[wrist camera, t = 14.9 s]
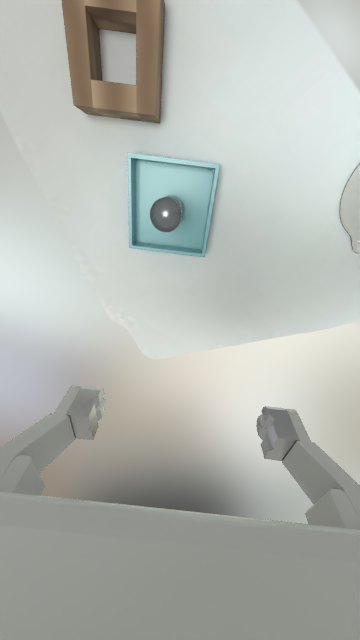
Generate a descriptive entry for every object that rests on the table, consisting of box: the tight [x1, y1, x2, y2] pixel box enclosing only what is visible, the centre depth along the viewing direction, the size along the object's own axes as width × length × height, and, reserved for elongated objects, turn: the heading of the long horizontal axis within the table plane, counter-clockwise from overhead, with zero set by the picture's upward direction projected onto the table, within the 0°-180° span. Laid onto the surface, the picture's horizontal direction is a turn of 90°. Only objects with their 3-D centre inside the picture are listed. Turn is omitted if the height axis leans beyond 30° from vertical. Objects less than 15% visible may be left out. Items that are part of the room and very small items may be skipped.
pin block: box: [62, 0, 165, 123], centre depth 26 cm, size 11×11×4 cm
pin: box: [150, 195, 184, 232], centre depth 32 cm, size 4×4×10 cm
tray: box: [127, 153, 220, 257], centre depth 35 cm, size 13×13×4 cm
